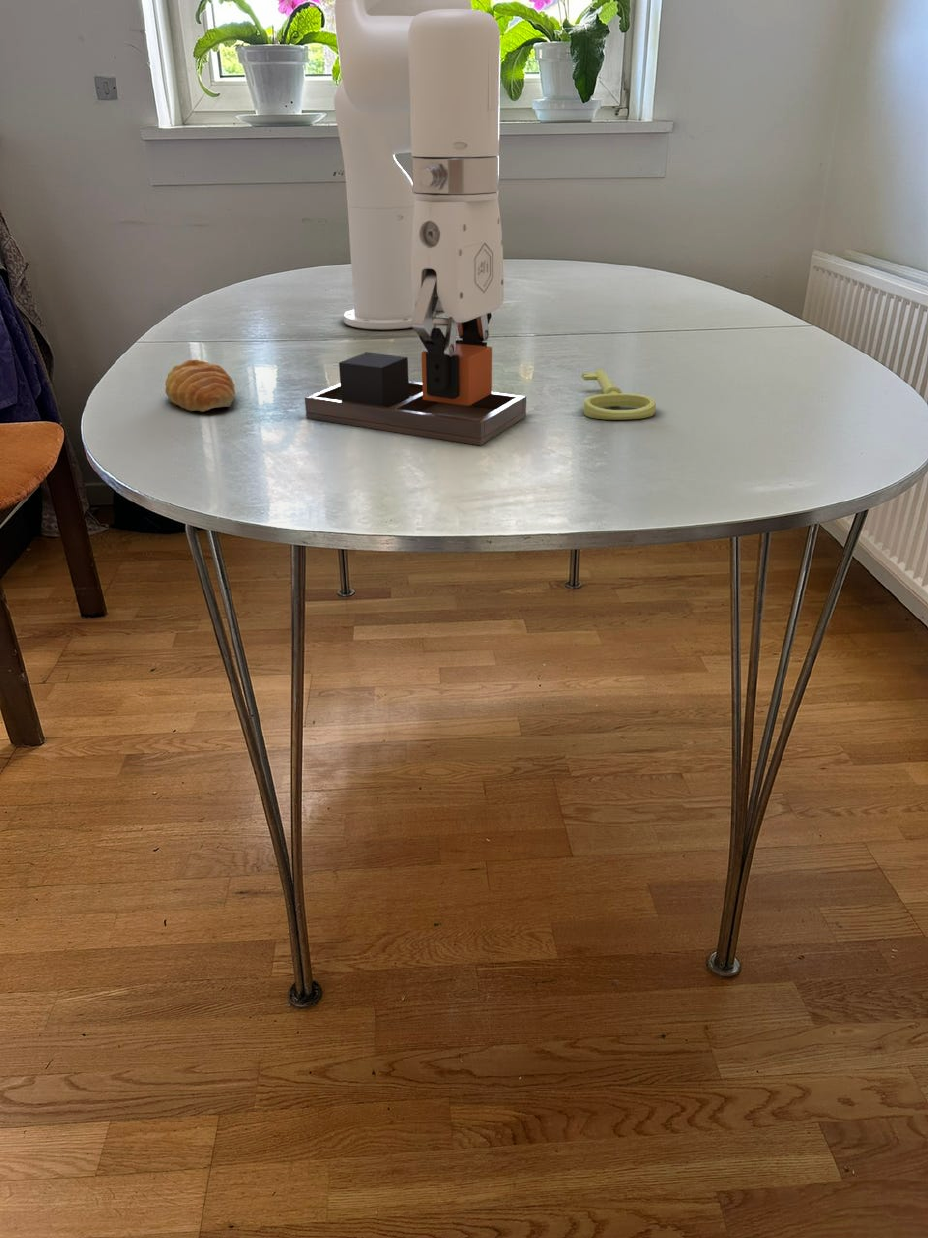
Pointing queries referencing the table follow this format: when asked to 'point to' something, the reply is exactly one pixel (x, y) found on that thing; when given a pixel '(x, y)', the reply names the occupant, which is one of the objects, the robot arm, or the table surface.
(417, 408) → the brown divided tray
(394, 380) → the black block
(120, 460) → the table surface
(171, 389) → the pastry
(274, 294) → the table surface
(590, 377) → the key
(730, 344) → the table surface
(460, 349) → the orange block
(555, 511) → the table surface
